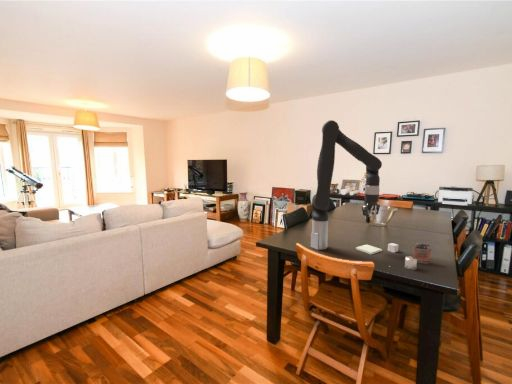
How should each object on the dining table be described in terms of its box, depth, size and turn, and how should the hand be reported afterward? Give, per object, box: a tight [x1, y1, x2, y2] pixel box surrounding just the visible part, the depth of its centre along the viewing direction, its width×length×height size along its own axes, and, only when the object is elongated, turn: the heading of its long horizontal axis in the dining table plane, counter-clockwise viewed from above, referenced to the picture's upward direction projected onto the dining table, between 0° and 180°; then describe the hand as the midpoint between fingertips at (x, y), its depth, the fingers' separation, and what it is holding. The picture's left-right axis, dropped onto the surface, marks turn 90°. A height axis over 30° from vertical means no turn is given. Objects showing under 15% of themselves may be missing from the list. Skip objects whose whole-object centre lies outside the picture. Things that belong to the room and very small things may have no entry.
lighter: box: [412, 242, 432, 265], centre depth 131 cm, size 8×3×10 cm, turn 69°
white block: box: [387, 242, 399, 253], centre depth 147 cm, size 4×4×4 cm
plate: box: [355, 244, 383, 255], centre depth 149 cm, size 10×10×1 cm
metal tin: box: [404, 255, 418, 271], centre depth 124 cm, size 5×5×5 cm
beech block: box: [364, 214, 377, 226], centre depth 146 cm, size 4×4×5 cm
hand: (370, 222), depth 146 cm, fingers closed on beech block, 4 cm apart
